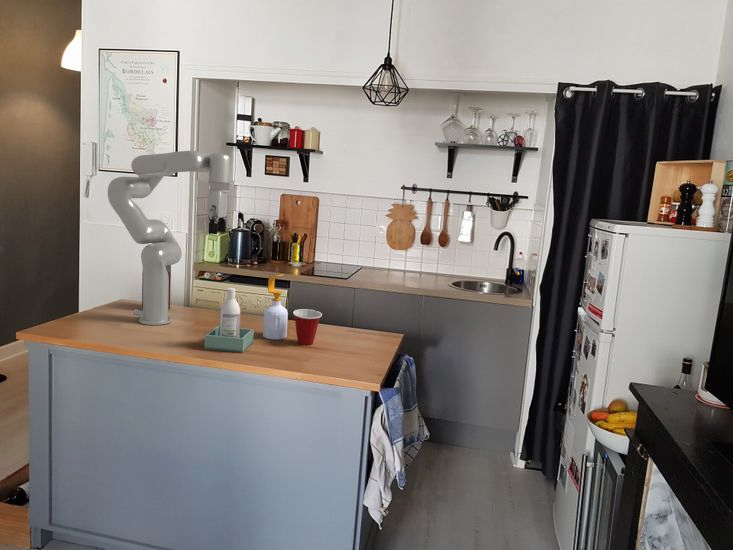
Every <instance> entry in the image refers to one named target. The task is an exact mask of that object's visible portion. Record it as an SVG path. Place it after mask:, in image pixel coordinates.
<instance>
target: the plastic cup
mask: <svg viewBox="0 0 733 550" xmlns="http://www.w3.org/2000/svg"><path fill="white" fill-rule="evenodd" d="M292 314H293V317H294V321H295V323H294V324H295V330H296V339H297V344H298V345H300V346H311V345H313V344H314V342H315V338H316V336H317V335H316V334H317V331H318V325H319V322H320V319H321V317H322V316H323V313H322V312H320V311H319V310H318V311H317V310H314V309H308V308H300V309H294V311H293V312H292Z"/></svg>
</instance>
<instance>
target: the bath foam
mask: <svg viewBox="0 0 733 550" xmlns="http://www.w3.org/2000/svg"><path fill="white" fill-rule="evenodd" d="M224 300H225V301H224V302H223V303H222V305H221V306H220V314H219V326H220V333H219V336H224V337H235V338H239V334H240V328H241V308H240V304H239V303H238V302H237V299H236V288H234V287H228V288H226V298H225V299H224Z"/></svg>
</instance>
